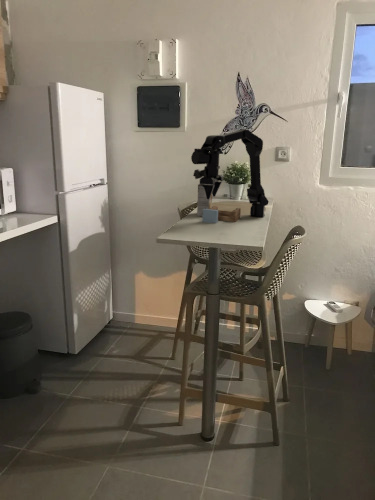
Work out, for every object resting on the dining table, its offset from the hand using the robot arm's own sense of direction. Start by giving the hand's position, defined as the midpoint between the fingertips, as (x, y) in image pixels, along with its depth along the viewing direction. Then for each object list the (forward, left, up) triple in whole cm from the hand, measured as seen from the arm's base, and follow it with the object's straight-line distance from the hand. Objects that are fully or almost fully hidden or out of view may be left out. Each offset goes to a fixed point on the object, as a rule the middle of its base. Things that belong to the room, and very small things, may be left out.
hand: (211, 197), depth 187 cm
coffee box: (+8, -16, -12) cm, 21 cm away
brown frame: (-4, -11, -12) cm, 16 cm away
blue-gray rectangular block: (0, 0, -12) cm, 12 cm away
